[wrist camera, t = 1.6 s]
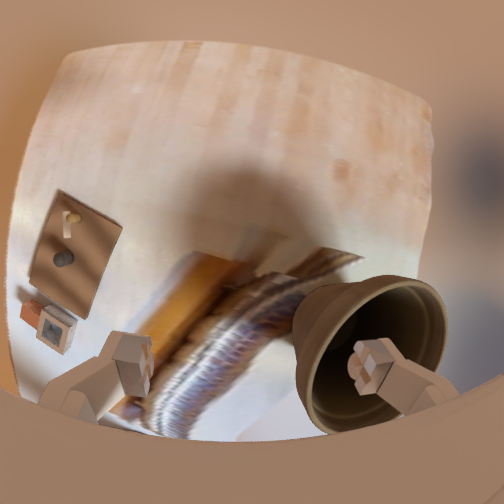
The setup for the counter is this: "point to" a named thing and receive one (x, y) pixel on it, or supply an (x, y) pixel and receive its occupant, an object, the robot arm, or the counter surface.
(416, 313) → the plant pot
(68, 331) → the flange
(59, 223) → the post board
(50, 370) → the counter surface
